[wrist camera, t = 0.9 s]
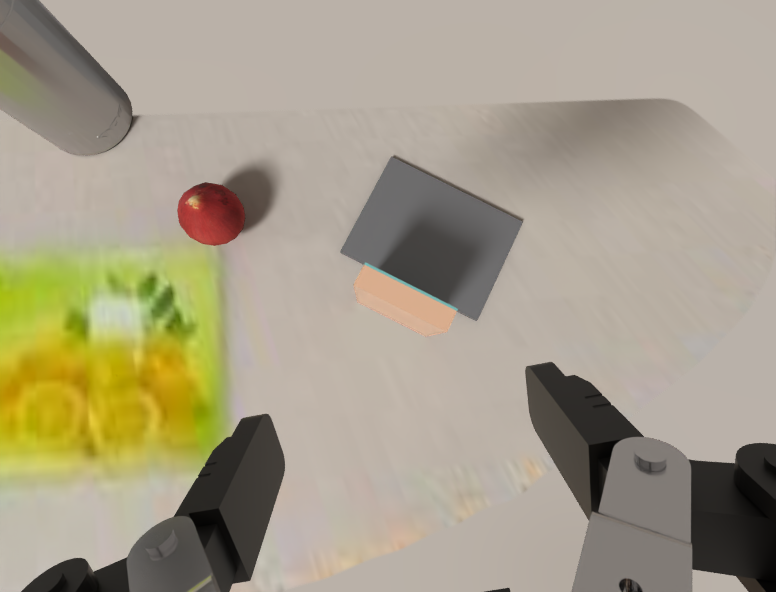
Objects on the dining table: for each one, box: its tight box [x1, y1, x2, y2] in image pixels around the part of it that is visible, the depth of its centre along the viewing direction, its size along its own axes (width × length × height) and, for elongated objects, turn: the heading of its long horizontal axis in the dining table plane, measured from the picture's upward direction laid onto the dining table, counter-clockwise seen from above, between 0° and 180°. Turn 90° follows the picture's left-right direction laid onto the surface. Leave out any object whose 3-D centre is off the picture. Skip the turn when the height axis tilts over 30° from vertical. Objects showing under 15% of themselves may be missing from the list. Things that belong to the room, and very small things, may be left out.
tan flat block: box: [354, 262, 458, 337], centre depth 35 cm, size 8×2×11 cm, turn 63°
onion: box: [178, 182, 245, 246], centre depth 37 cm, size 6×6×8 cm
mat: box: [340, 156, 523, 321], centre depth 41 cm, size 16×12×1 cm
